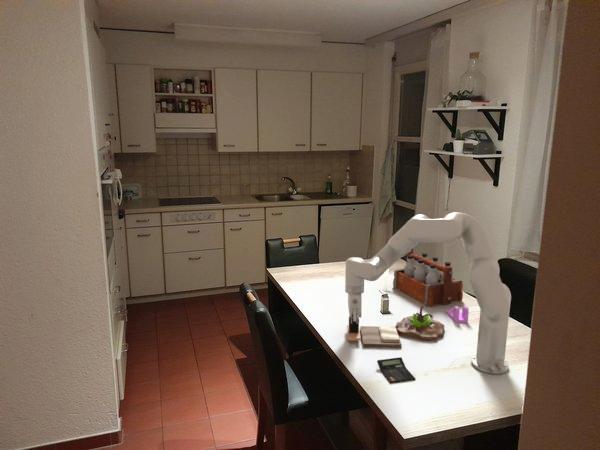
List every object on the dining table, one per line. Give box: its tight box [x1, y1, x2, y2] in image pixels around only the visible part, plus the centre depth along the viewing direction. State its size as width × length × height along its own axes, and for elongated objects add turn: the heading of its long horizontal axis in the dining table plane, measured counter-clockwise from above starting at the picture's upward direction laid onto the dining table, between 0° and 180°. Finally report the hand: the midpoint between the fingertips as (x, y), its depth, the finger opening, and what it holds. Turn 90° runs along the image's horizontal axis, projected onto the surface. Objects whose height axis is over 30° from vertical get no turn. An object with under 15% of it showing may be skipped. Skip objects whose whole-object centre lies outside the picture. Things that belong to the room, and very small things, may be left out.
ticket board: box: [359, 325, 402, 349], centre depth 189 cm, size 16×15×3 cm
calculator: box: [376, 357, 417, 384], centre depth 163 cm, size 9×12×3 cm
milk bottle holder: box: [392, 250, 464, 307], centre depth 237 cm, size 21×35×19 cm, turn 23°
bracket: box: [446, 305, 470, 324], centre depth 210 cm, size 13×6×7 cm, turn 2°
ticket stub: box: [346, 316, 362, 341], centre depth 189 cm, size 12×5×7 cm, turn 177°
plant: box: [395, 304, 445, 342], centre depth 196 cm, size 20×20×11 cm
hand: (353, 329), depth 189 cm, fingers closed on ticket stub, 3 cm apart
